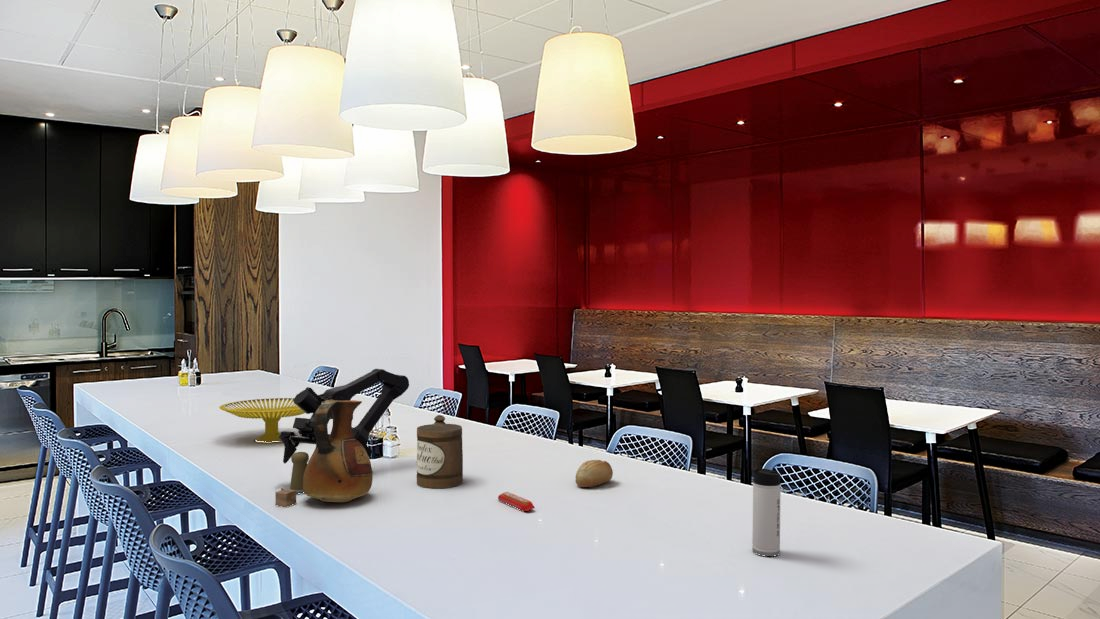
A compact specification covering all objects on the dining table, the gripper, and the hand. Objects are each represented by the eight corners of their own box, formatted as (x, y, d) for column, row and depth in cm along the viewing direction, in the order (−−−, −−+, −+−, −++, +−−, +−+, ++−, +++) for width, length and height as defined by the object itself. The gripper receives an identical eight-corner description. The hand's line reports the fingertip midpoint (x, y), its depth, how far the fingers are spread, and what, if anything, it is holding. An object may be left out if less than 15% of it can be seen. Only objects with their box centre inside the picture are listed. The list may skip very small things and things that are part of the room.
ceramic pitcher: (385, 493, 224) (385, 396, 223) (346, 512, 205) (346, 405, 204) (330, 488, 230) (331, 393, 229) (288, 505, 211) (288, 401, 210)
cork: (303, 490, 223) (303, 454, 223) (285, 489, 225) (285, 454, 224) (314, 485, 229) (314, 450, 229) (296, 484, 231) (296, 450, 230)
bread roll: (620, 483, 238) (621, 458, 238) (592, 492, 227) (592, 466, 227) (597, 478, 245) (597, 454, 245) (568, 486, 234) (568, 461, 234)
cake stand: (302, 450, 286) (302, 412, 285) (200, 449, 286) (200, 411, 286) (334, 431, 326) (334, 398, 326) (244, 430, 326) (244, 397, 326)
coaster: (304, 485, 233) (304, 483, 233) (318, 490, 227) (318, 487, 227) (281, 490, 227) (281, 487, 227) (293, 495, 221) (293, 492, 221)
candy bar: (495, 501, 217) (495, 491, 217) (506, 499, 219) (506, 489, 219) (525, 514, 204) (525, 504, 204) (536, 512, 206) (536, 502, 206)
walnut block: (285, 502, 214) (285, 488, 214) (296, 504, 212) (296, 490, 212) (275, 505, 210) (275, 492, 210) (286, 507, 209) (286, 493, 209)
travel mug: (747, 548, 177) (748, 466, 176) (773, 547, 177) (774, 465, 177) (756, 557, 170) (757, 472, 170) (784, 557, 171) (785, 471, 171)
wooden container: (407, 483, 237) (407, 415, 236) (443, 475, 248) (443, 410, 247) (436, 491, 227) (436, 420, 226) (472, 482, 238) (472, 415, 237)
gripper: (282, 405, 233) (258, 447, 223) (333, 408, 227) (311, 451, 217) (298, 426, 241) (275, 467, 230) (347, 429, 235) (326, 471, 225)
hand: (296, 463), depth 225 cm, fingers open, 9 cm apart
